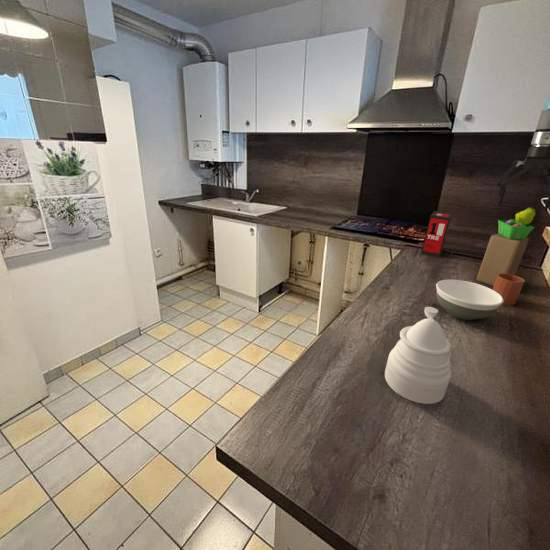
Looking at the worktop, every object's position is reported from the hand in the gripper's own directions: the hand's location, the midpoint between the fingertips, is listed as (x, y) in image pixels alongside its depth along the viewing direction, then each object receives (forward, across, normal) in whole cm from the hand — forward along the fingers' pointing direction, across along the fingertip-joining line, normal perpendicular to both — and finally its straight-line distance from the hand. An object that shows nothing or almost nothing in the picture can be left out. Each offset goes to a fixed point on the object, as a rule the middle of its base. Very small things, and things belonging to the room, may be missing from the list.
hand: (521, 207), depth 109 cm
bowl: (+31, -6, -39) cm, 50 cm away
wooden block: (+31, 0, 0) cm, 31 cm away
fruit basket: (+11, 0, 0) cm, 11 cm away
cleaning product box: (+31, -30, +27) cm, 51 cm away
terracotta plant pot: (+31, +4, -17) cm, 36 cm away
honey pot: (+31, -9, -83) cm, 89 cm away
